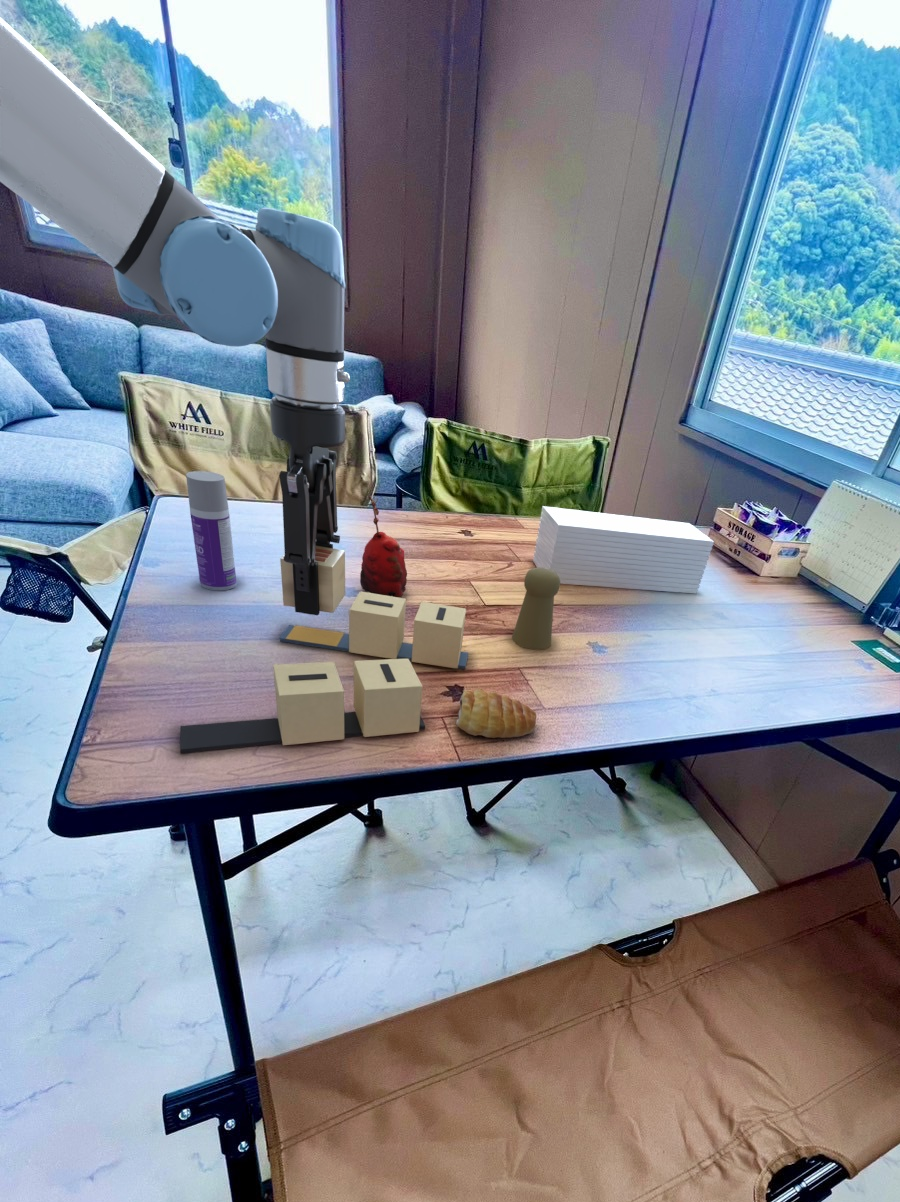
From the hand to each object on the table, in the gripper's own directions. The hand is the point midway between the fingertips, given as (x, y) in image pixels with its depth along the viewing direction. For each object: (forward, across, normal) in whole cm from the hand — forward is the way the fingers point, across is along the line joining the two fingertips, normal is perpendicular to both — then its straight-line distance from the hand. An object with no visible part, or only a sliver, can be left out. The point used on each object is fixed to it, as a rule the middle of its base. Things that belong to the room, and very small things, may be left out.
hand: (315, 601), depth 79 cm
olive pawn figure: (+6, +10, -29) cm, 31 cm away
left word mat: (+5, -20, -5) cm, 21 cm away
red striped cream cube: (0, 0, 0) cm, 0 cm away
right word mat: (+5, 0, -8) cm, 10 cm away
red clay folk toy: (+6, +19, -5) cm, 20 cm away
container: (+6, +12, +17) cm, 22 cm away
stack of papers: (+6, +44, -46) cm, 64 cm away
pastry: (+6, -14, -24) cm, 28 cm away
